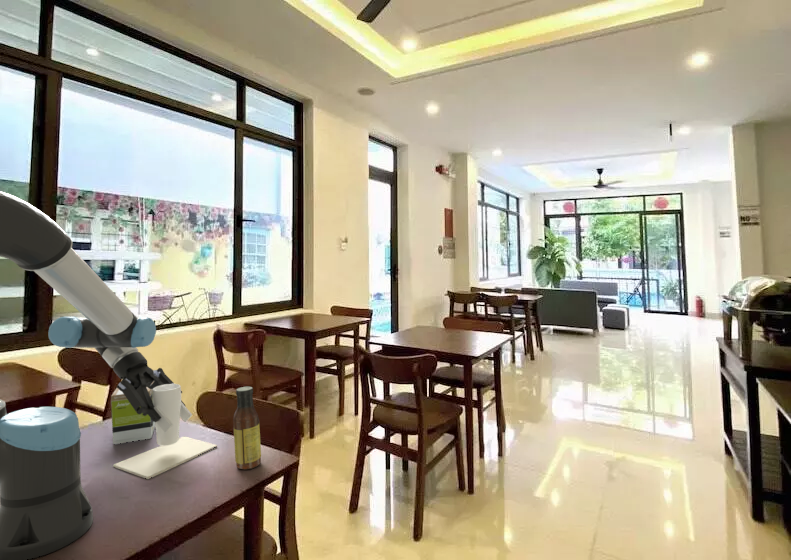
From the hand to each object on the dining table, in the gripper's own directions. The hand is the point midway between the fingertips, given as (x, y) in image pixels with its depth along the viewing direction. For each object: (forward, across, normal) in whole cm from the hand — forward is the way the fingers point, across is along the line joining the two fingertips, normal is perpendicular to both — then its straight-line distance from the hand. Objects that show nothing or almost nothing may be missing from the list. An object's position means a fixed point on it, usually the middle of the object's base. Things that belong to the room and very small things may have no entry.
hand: (179, 423), depth 112 cm
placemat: (+4, 0, -9) cm, 10 cm away
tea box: (-11, -12, -24) cm, 29 cm away
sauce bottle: (+21, 0, +8) cm, 22 cm away
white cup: (+1, 0, -6) cm, 7 cm away
